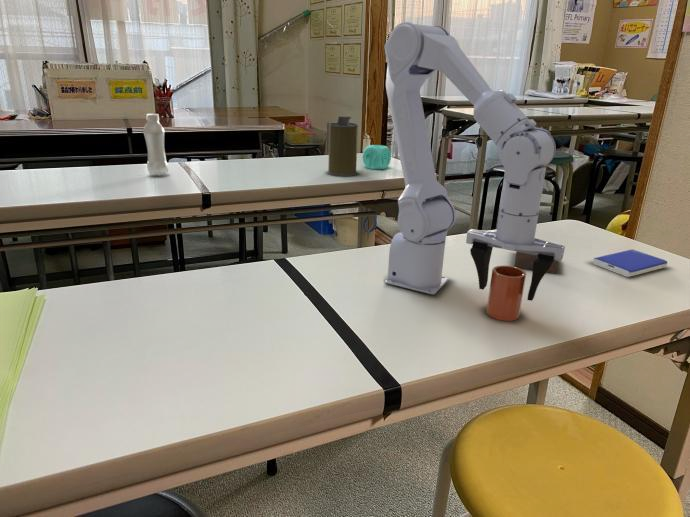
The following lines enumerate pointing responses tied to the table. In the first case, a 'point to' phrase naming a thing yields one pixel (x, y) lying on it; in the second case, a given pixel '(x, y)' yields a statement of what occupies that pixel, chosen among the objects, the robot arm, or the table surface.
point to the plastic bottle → (155, 146)
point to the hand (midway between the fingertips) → (506, 292)
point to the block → (531, 262)
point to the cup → (506, 292)
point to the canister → (342, 147)
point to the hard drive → (630, 262)
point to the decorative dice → (376, 157)
